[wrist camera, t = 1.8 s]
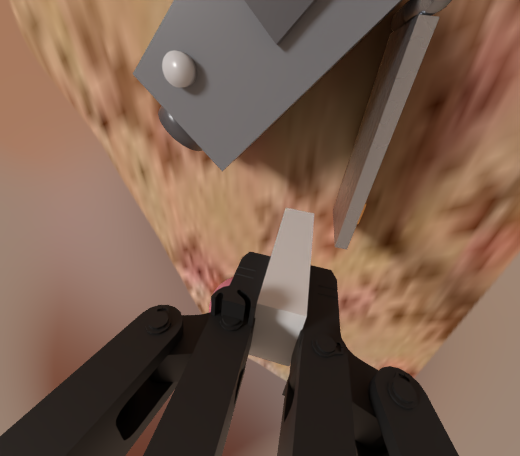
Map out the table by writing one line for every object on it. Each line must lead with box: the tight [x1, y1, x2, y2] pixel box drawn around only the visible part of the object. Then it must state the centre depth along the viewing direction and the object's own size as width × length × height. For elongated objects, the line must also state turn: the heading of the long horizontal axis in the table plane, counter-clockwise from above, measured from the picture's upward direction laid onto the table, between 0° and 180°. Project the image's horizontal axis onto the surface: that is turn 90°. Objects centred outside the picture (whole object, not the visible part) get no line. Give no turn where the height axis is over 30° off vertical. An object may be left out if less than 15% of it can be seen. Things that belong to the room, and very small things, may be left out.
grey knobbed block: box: [133, 0, 403, 171], centre depth 17 cm, size 18×9×8 cm, turn 132°
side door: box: [333, 0, 451, 249], centre depth 19 cm, size 16×2×7 cm, turn 172°
